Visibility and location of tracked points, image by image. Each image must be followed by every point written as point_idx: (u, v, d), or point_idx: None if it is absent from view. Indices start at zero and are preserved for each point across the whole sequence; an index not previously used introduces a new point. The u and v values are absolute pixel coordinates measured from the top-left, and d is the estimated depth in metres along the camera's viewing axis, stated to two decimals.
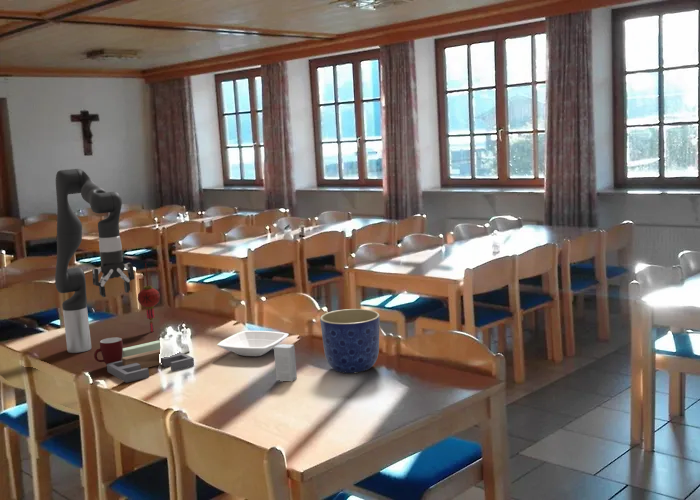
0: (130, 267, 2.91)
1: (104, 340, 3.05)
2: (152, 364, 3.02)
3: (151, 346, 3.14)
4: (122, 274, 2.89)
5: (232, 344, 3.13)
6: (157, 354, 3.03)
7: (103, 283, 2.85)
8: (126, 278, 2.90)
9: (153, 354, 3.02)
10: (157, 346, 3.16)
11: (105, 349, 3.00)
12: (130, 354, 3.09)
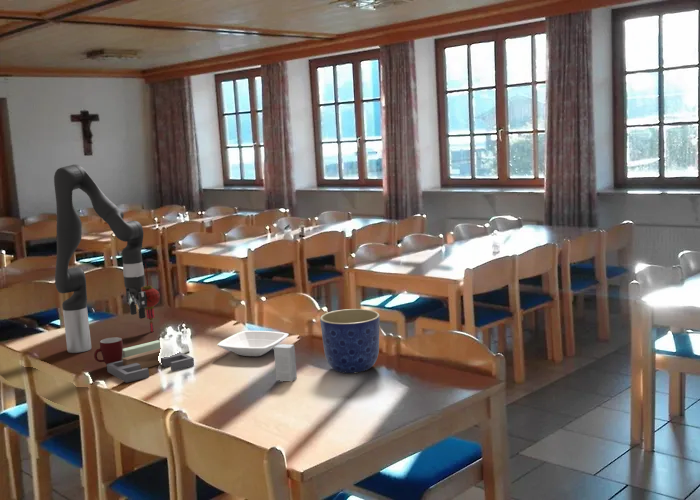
0: None
1: (104, 340, 3.05)
2: (152, 364, 3.03)
3: (151, 346, 3.15)
4: None
5: (232, 344, 3.13)
6: (157, 354, 3.04)
7: None
8: None
9: (153, 354, 3.03)
10: (157, 345, 3.16)
11: (105, 349, 3.00)
12: (130, 355, 3.09)
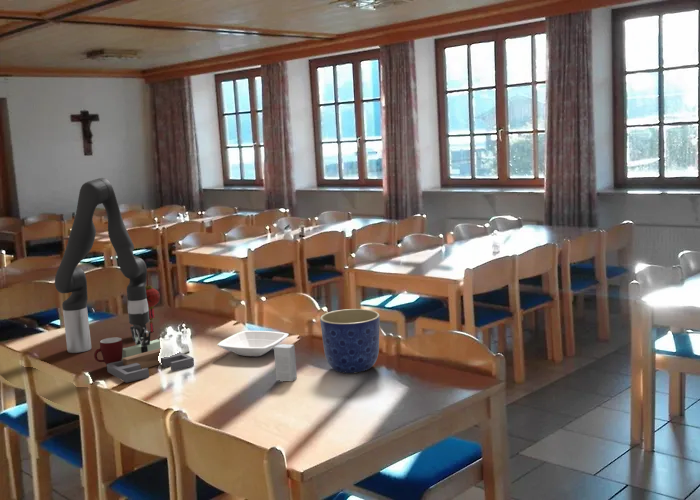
0: None
1: (104, 340, 3.05)
2: (152, 364, 3.03)
3: (151, 345, 3.15)
4: None
5: (232, 344, 3.13)
6: (157, 354, 3.04)
7: None
8: None
9: (153, 354, 3.03)
10: (157, 344, 3.17)
11: (105, 349, 3.00)
12: (131, 354, 3.09)
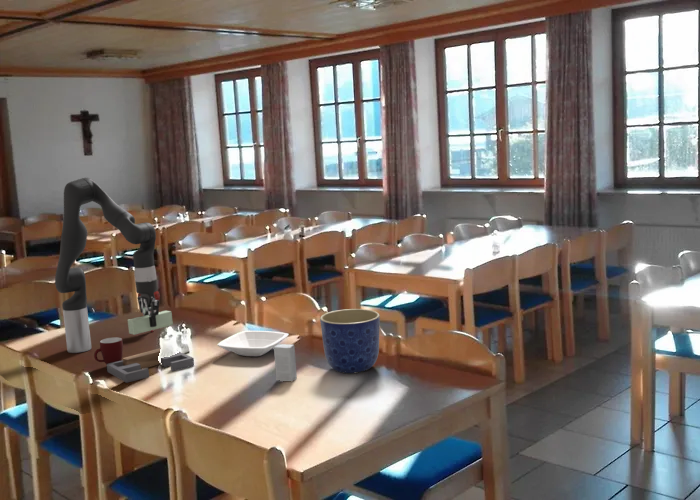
0: None
1: (104, 340, 3.05)
2: (152, 364, 3.03)
3: (160, 316, 2.96)
4: None
5: (232, 344, 3.13)
6: (157, 354, 3.04)
7: None
8: None
9: (153, 354, 3.03)
10: (166, 315, 2.98)
11: (105, 349, 3.00)
12: (139, 325, 2.90)
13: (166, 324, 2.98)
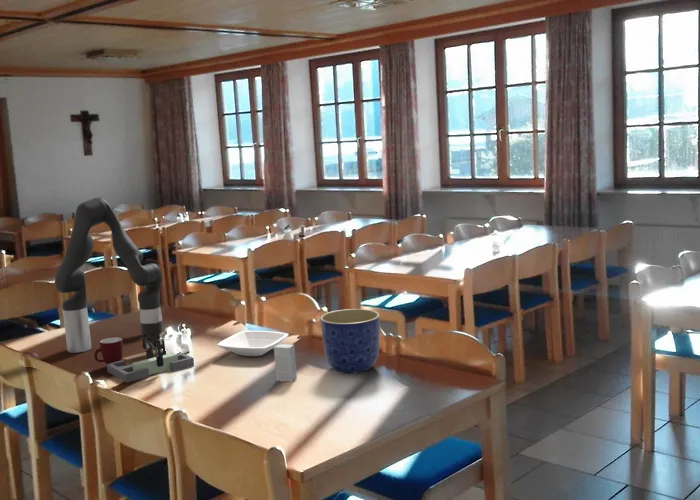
0: None
1: (104, 340, 3.05)
2: None
3: (165, 359, 2.96)
4: None
5: (232, 344, 3.13)
6: None
7: None
8: None
9: (153, 354, 3.03)
10: (171, 359, 2.97)
11: (105, 349, 3.00)
12: None
13: None
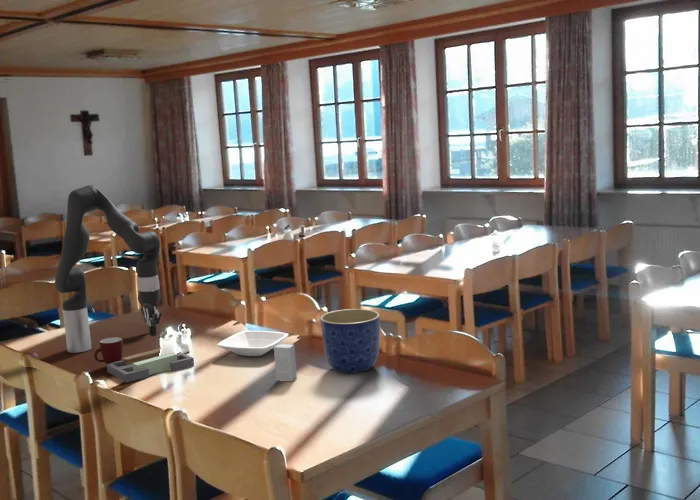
0: None
1: (104, 340, 3.05)
2: None
3: (165, 359, 2.96)
4: None
5: (232, 344, 3.12)
6: (157, 354, 3.04)
7: None
8: None
9: (153, 354, 3.03)
10: (171, 358, 2.98)
11: (105, 349, 3.00)
12: None
13: None
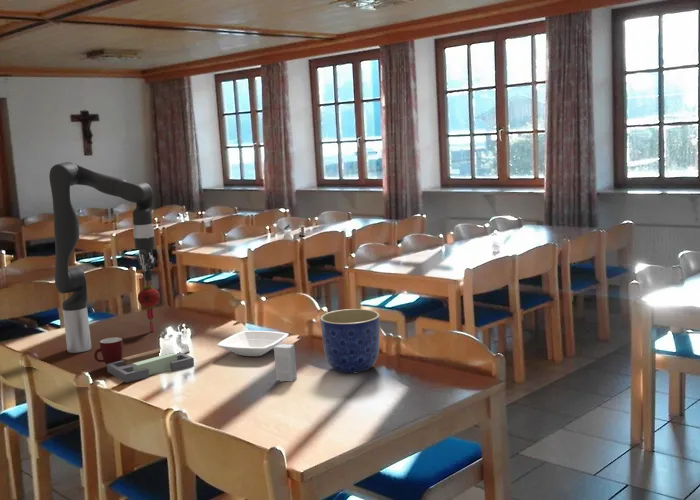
0: None
1: (104, 340, 3.05)
2: None
3: (165, 359, 2.96)
4: None
5: (232, 344, 3.12)
6: (157, 354, 3.04)
7: None
8: None
9: (153, 354, 3.03)
10: (171, 358, 2.98)
11: (105, 349, 3.00)
12: None
13: None
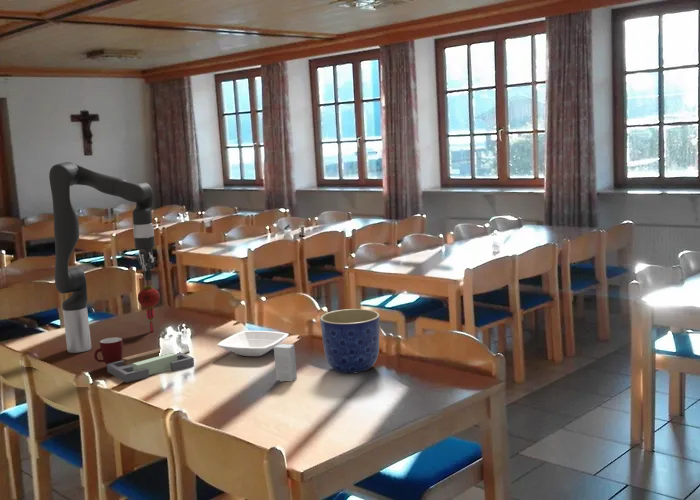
0: None
1: (104, 340, 3.05)
2: None
3: (165, 359, 2.96)
4: None
5: (232, 344, 3.12)
6: (157, 354, 3.04)
7: None
8: None
9: (153, 354, 3.03)
10: (171, 358, 2.98)
11: (105, 349, 3.00)
12: None
13: None
